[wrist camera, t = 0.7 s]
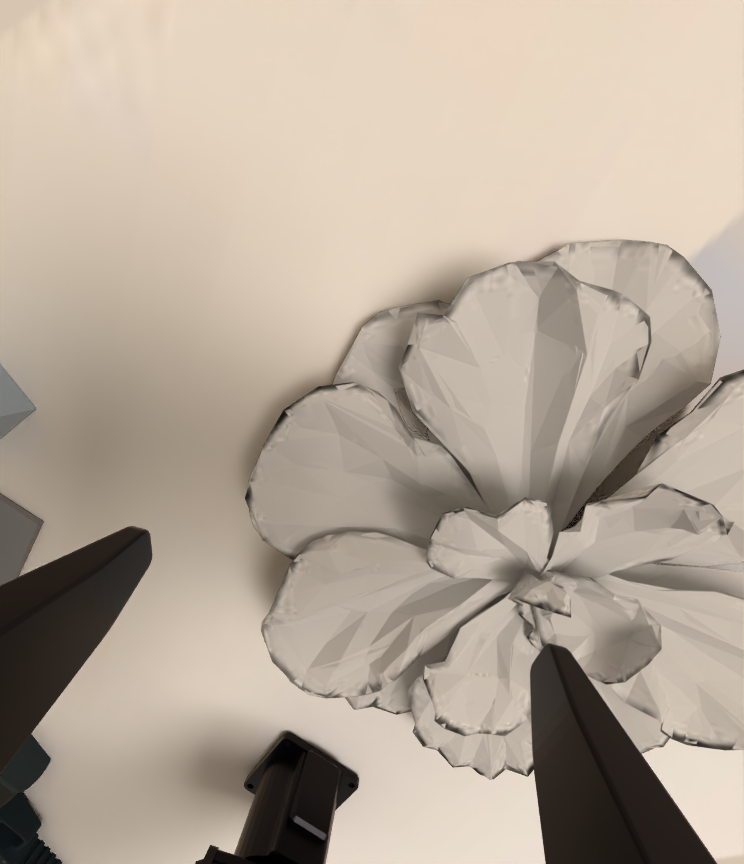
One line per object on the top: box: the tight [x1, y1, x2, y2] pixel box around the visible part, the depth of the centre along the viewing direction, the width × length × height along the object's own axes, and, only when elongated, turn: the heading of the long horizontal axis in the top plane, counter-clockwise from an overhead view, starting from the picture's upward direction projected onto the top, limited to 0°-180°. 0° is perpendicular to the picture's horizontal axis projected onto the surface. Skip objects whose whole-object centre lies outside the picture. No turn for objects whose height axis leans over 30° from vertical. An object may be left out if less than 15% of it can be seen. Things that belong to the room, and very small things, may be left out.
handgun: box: [0, 734, 62, 864], centre depth 34 cm, size 3×18×12 cm
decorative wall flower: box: [245, 240, 744, 780], centre depth 20 cm, size 30×7×30 cm
